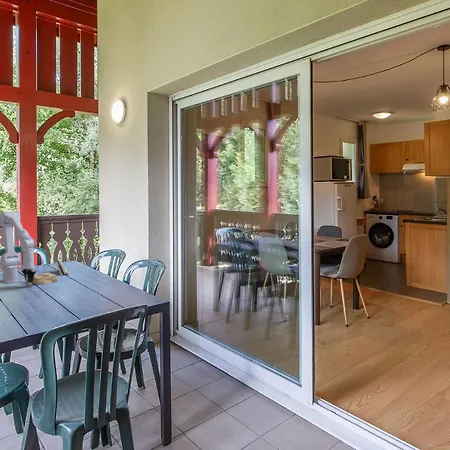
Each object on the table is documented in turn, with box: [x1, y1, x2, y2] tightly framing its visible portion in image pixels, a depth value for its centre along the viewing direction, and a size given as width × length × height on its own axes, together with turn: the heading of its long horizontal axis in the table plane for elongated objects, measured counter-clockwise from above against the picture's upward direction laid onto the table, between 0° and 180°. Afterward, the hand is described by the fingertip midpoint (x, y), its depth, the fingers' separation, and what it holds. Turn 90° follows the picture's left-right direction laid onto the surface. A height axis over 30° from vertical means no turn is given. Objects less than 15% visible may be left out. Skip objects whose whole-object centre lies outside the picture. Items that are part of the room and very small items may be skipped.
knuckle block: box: [32, 272, 58, 286], centre depth 236 cm, size 12×12×4 cm
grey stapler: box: [55, 259, 70, 276], centre depth 262 cm, size 17×5×10 cm, turn 27°
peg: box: [25, 270, 33, 288], centre depth 223 cm, size 3×3×10 cm
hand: (29, 281), depth 223 cm, fingers closed on peg, 3 cm apart
